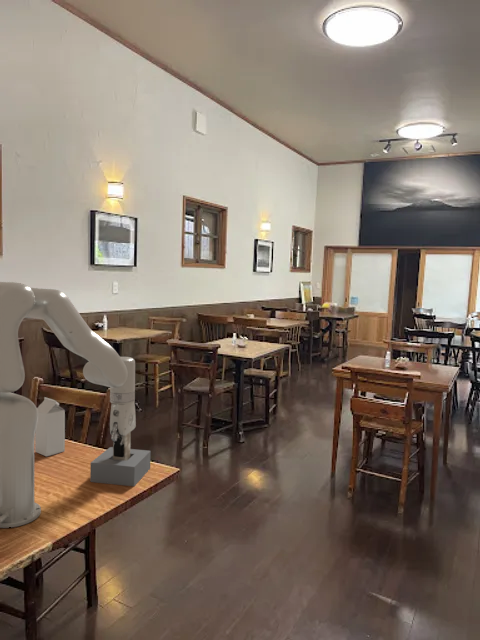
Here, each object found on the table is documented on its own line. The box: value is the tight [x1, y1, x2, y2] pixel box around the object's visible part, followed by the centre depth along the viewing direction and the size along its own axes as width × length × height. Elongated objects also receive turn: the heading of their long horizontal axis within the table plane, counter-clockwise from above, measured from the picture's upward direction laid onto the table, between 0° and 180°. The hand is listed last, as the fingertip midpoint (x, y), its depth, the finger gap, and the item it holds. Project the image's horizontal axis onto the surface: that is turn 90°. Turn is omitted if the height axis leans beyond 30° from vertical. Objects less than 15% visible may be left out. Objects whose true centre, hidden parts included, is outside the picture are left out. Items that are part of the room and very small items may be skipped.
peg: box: [112, 431, 132, 461], centre depth 152 cm, size 4×4×11 cm
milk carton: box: [34, 396, 66, 457], centre depth 169 cm, size 7×7×19 cm
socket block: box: [89, 446, 151, 487], centre depth 152 cm, size 14×14×6 cm
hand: (121, 453), depth 152 cm, fingers closed on peg, 4 cm apart
